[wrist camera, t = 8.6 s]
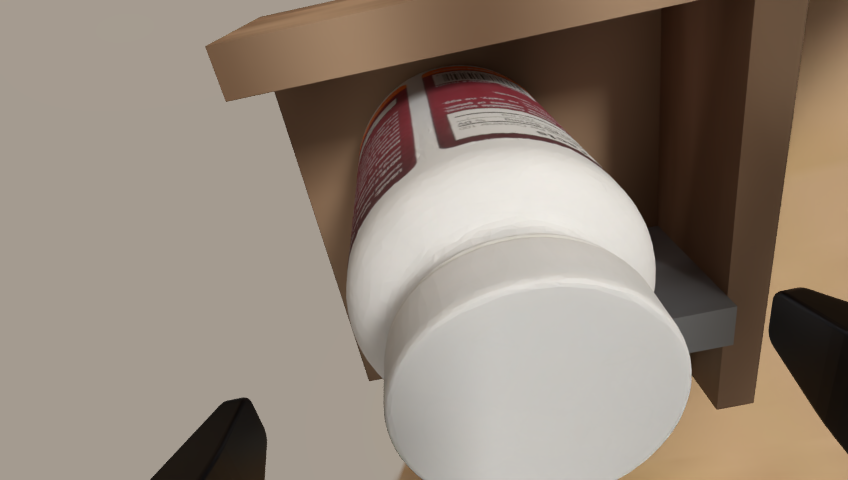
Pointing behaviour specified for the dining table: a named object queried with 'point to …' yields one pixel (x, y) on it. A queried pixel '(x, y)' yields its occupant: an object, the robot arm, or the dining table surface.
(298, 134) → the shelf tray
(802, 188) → the dining table surface
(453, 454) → the pill bottle
